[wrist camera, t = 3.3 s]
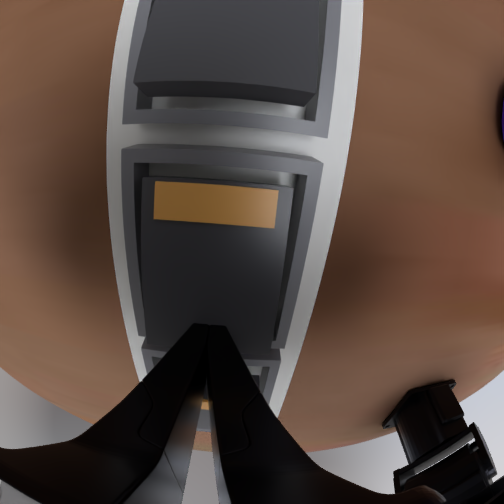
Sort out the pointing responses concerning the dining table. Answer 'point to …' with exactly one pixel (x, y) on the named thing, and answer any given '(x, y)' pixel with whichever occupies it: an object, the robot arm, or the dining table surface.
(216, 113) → the rocker switch panel
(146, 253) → the rocker
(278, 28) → the rocker
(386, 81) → the dining table surface
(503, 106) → the bottle
